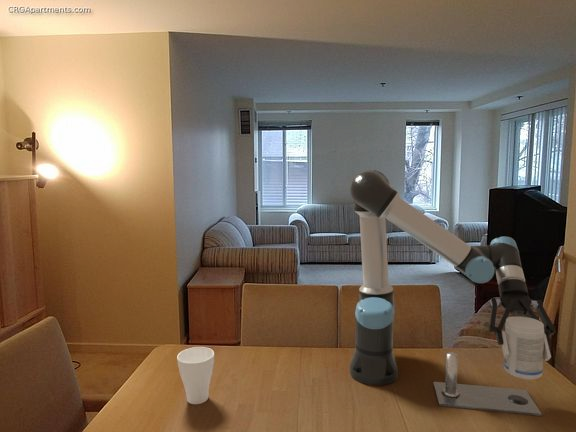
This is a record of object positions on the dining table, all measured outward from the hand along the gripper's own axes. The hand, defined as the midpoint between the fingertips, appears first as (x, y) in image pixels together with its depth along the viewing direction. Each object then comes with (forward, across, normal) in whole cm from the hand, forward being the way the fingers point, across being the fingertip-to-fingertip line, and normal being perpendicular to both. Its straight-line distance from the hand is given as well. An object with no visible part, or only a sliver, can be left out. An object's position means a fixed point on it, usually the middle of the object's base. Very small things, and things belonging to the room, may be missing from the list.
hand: (527, 357), depth 114 cm
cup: (+18, +91, -2) cm, 93 cm away
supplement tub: (+2, 0, -7) cm, 7 cm away
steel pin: (+8, +19, -12) cm, 24 cm away
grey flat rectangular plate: (+8, +10, -13) cm, 18 cm away
